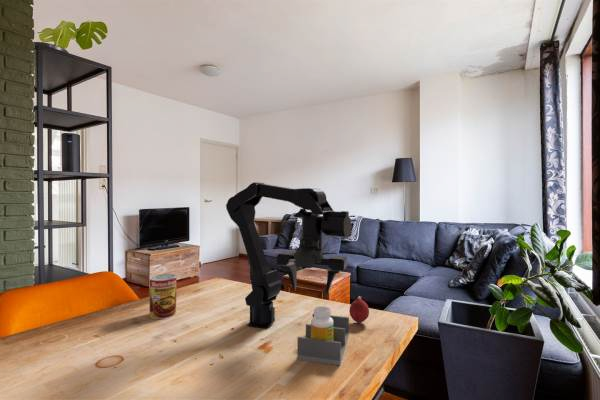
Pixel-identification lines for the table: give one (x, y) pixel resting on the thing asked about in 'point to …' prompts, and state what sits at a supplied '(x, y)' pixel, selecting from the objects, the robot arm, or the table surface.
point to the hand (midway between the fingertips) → (310, 291)
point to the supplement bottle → (322, 324)
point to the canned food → (162, 296)
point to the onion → (359, 310)
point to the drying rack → (325, 344)
